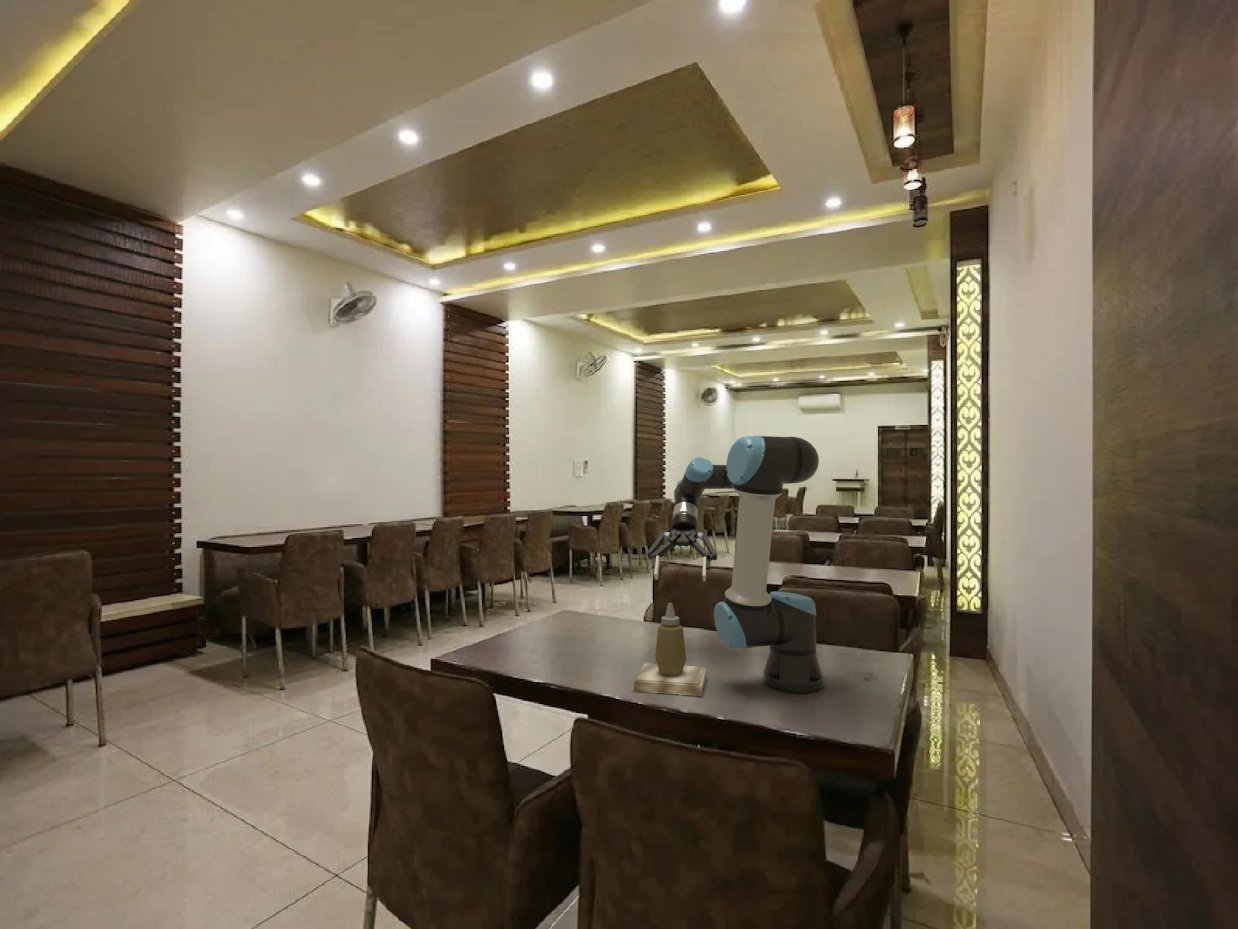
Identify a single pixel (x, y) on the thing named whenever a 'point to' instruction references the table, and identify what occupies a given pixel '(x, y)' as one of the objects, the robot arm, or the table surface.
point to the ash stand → (670, 681)
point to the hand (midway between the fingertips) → (679, 577)
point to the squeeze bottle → (670, 645)
